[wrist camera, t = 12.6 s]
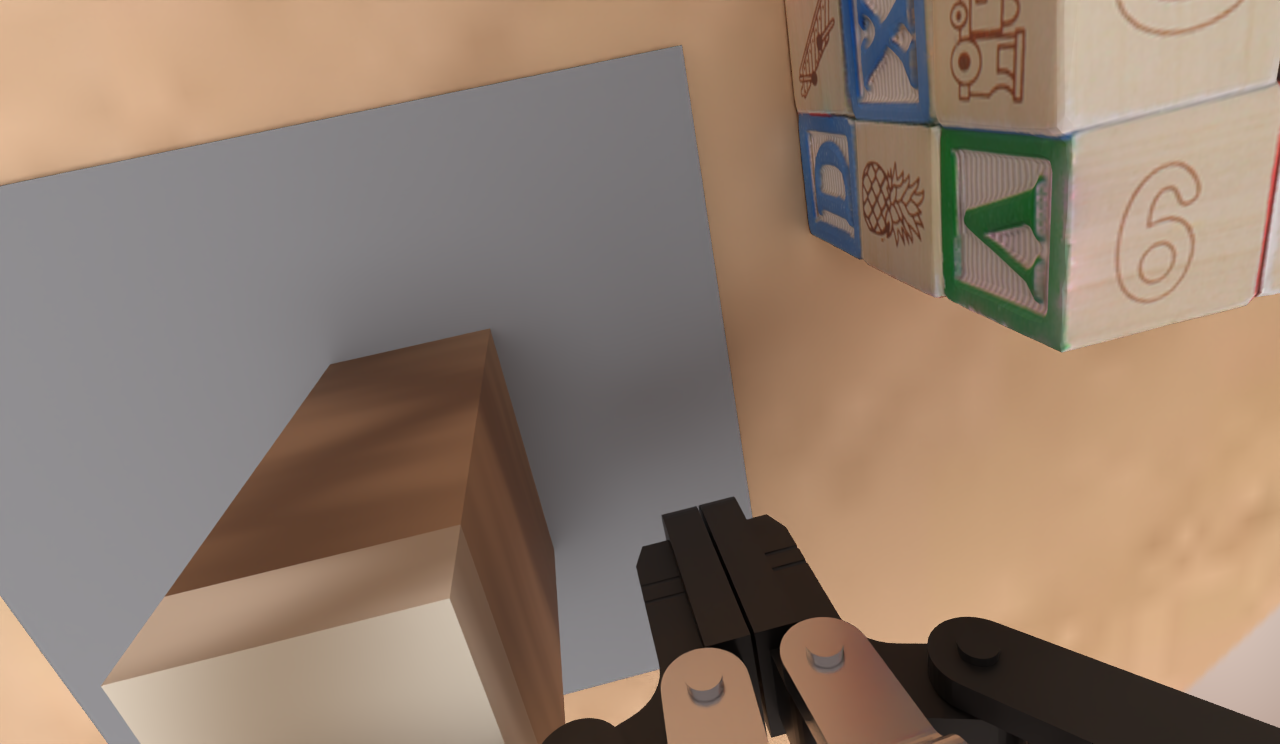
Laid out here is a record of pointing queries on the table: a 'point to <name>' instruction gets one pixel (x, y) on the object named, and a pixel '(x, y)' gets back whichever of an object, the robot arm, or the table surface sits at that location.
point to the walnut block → (367, 576)
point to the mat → (362, 338)
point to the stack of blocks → (1048, 154)
